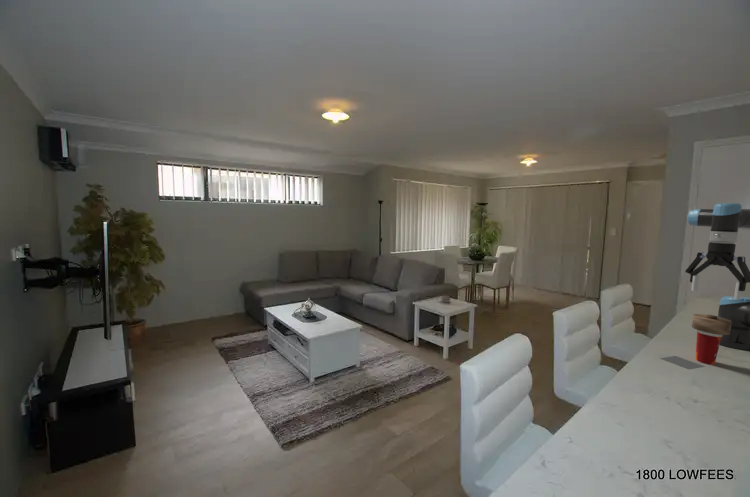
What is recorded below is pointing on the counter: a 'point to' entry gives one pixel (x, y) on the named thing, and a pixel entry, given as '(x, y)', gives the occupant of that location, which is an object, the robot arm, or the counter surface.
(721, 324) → the lid
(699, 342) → the paper cup
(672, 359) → the mat
